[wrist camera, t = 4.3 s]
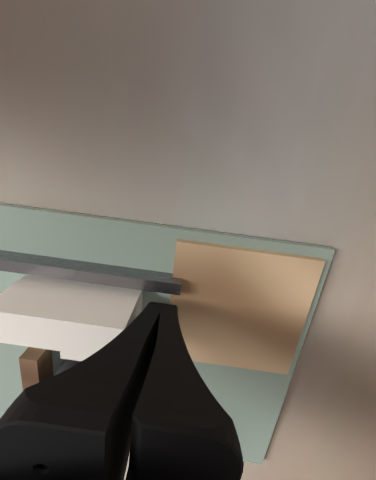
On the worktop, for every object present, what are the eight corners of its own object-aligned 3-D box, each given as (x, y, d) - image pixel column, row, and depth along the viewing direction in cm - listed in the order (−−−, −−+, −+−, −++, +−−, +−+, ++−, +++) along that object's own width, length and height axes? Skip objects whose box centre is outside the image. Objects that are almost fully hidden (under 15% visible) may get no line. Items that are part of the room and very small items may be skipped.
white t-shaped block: (138, 352, 15) (121, 407, 12) (37, 337, 15) (-7, 388, 12) (143, 286, 14) (124, 329, 10) (30, 271, 14) (-22, 309, 11)
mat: (260, 457, 18) (262, 464, 18) (-101, 404, 19) (-108, 409, 18) (331, 246, 13) (335, 249, 12) (-185, 178, 13) (-196, 178, 13)
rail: (182, 285, 14) (180, 295, 13) (-119, 243, 14) (-143, 250, 13) (183, 274, 13) (181, 284, 12) (-122, 233, 14) (-147, 239, 13)
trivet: (285, 368, 15) (287, 374, 15) (164, 351, 15) (163, 357, 15) (321, 258, 13) (325, 261, 12) (177, 238, 13) (176, 241, 12)
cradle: (136, 427, 17) (130, 450, 16) (42, 413, 18) (29, 435, 16) (141, 355, 15) (135, 375, 14) (34, 340, 15) (18, 358, 14)
